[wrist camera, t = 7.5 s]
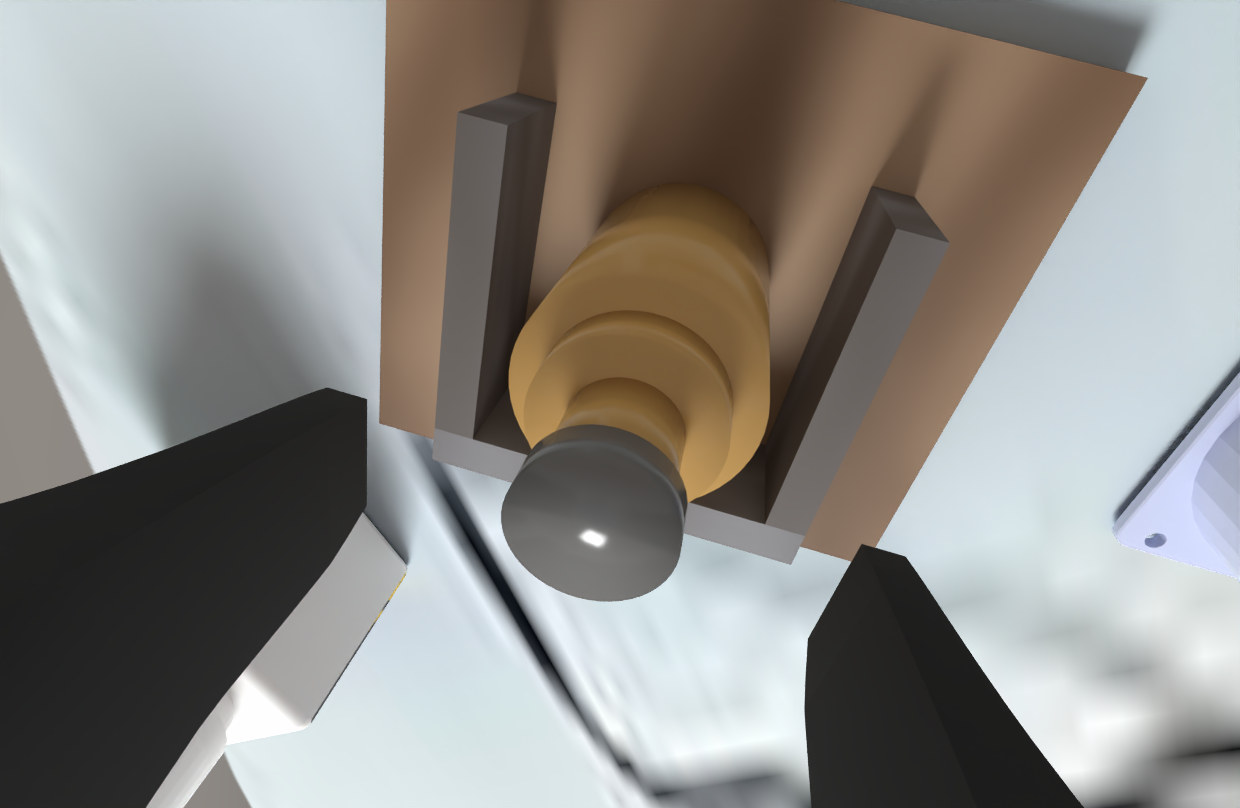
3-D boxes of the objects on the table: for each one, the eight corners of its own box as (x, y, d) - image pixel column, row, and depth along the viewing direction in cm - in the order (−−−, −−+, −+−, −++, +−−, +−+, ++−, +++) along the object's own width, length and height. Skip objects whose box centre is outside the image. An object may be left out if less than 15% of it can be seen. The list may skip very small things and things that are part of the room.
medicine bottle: (292, 605, 29) (36, 925, 19) (175, 480, 26) (-196, 775, 16) (414, 568, 26) (192, 918, 16) (298, 424, 24) (-55, 737, 14)
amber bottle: (800, 220, 16) (837, 462, 7) (729, 378, 18) (694, 695, 10) (618, 155, 16) (448, 323, 7) (571, 321, 18) (404, 588, 10)
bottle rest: (1125, 73, 14) (1257, 97, 10) (861, 543, 22) (880, 657, 18) (409, -105, 15) (287, -144, 11) (394, 407, 22) (317, 489, 19)
